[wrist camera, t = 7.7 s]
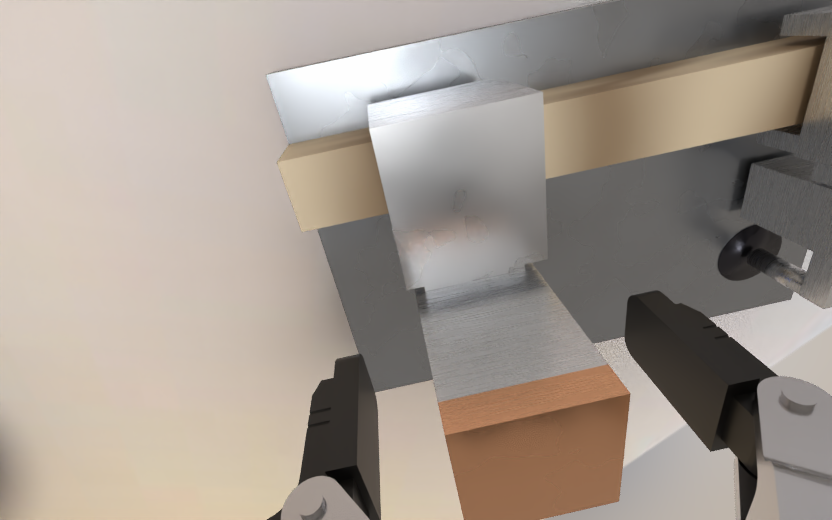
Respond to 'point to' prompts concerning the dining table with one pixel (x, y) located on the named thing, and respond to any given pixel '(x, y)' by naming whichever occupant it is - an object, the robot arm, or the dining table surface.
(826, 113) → the fixed leg
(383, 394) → the dining table surface
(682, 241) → the bolt plate
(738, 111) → the divider rail
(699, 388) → the robot arm
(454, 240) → the slide leg
